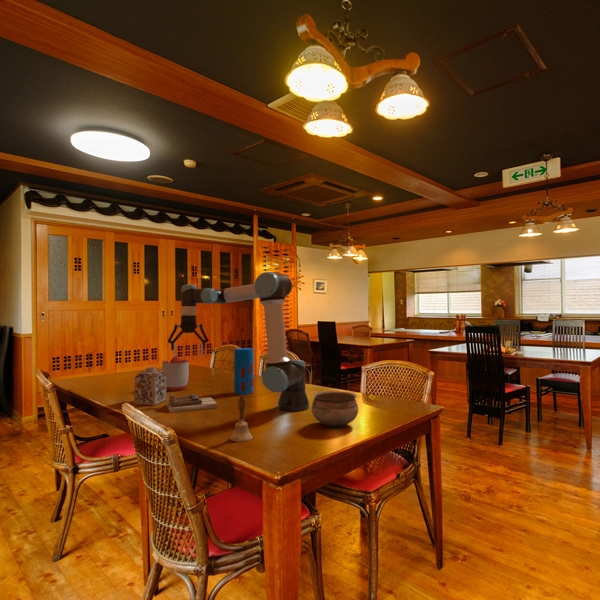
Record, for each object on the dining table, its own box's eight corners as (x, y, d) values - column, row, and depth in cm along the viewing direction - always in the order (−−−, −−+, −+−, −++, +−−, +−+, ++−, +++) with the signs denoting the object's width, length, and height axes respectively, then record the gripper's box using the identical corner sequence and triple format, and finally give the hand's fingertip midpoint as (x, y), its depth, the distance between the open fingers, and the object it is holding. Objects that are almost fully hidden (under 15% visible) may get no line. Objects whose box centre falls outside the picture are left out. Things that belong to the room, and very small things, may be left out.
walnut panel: (201, 403, 191) (201, 394, 191) (171, 406, 186) (171, 396, 186) (197, 398, 202) (197, 389, 202) (169, 401, 197) (169, 392, 197)
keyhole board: (217, 408, 192) (217, 397, 192) (169, 412, 184) (169, 401, 184) (211, 401, 207) (211, 391, 207) (166, 405, 198) (166, 394, 198)
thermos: (257, 392, 229) (257, 348, 229) (245, 395, 220) (245, 350, 220) (242, 390, 235) (242, 347, 235) (230, 393, 225) (230, 349, 226)
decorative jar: (154, 405, 198) (154, 369, 198) (133, 404, 200) (133, 368, 200) (167, 400, 209) (167, 365, 210) (147, 399, 212) (147, 365, 212)
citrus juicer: (181, 385, 251) (181, 353, 251) (193, 389, 238) (193, 355, 238) (156, 388, 241) (156, 355, 241) (167, 393, 227) (167, 358, 228)
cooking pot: (337, 438, 146) (336, 404, 147) (297, 428, 158) (297, 397, 159) (370, 423, 166) (370, 393, 166) (333, 415, 178) (333, 388, 178)
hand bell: (253, 434, 151) (253, 392, 151) (251, 441, 143) (251, 397, 143) (231, 434, 151) (231, 392, 151) (228, 442, 142) (228, 397, 143)
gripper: (212, 314, 213) (211, 354, 212) (162, 314, 204) (162, 356, 203) (214, 315, 206) (213, 356, 205) (163, 315, 197) (162, 358, 196)
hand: (188, 356), depth 204 cm, fingers open, 13 cm apart
